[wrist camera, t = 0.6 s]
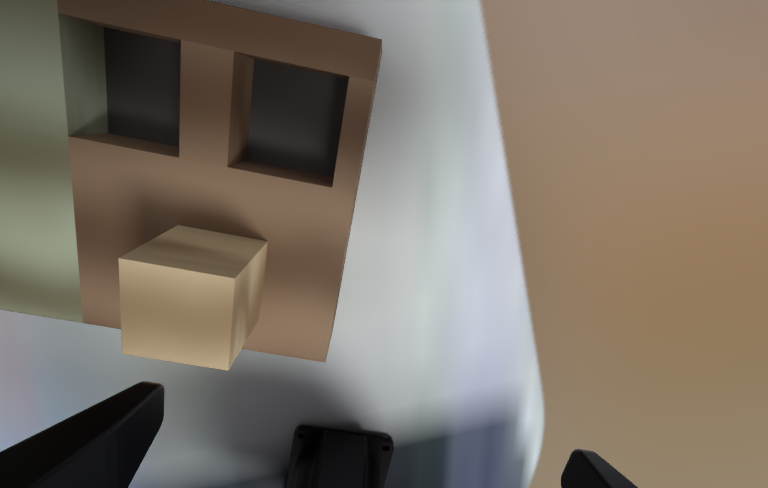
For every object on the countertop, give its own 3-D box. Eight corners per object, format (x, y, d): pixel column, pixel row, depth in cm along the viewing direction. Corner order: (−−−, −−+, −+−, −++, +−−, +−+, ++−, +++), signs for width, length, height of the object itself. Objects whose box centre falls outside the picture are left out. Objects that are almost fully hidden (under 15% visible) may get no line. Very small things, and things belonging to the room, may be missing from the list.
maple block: (260, 317, 18) (228, 370, 14) (176, 303, 18) (122, 353, 14) (267, 241, 17) (234, 278, 13) (178, 224, 17) (118, 258, 13)
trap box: (332, 330, 22) (315, 405, 16) (12, 276, 21) (-127, 337, 15) (382, 51, 17) (381, 22, 11) (-34, -41, 16) (-266, -126, 10)
